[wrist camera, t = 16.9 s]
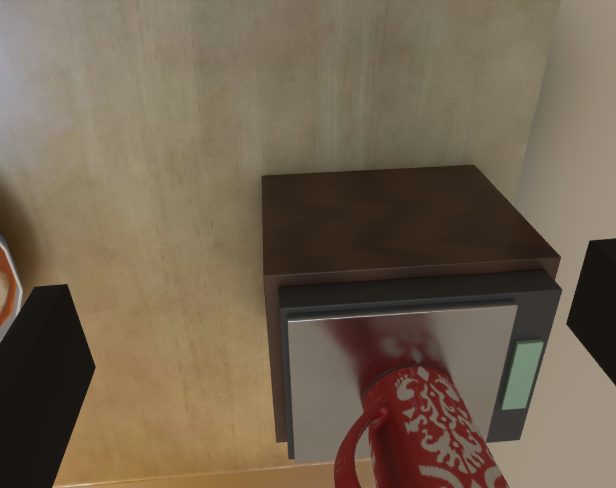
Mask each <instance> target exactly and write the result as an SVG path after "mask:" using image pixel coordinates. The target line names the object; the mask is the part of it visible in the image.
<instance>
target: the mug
mask: <svg viewBox="0 0 616 488" xmlns="http://www.w3.org/2000/svg"><path fill="white" fill-rule="evenodd" d="M365 430H366V431H367V435H368V441H369V447H370V453H371V459H372V464H373V471H374V477H375V483H376V488H509V486H508V484H507V482H506V480H505V479H504V477H503V475H502V473H501V471H500V469H499V467H498V466H497V464H496V462H495V460H494V458H493V456H492V454H491V452H490V451H489V449H488V447H487V445H486V443H485V441H484V439H483V437H482V435H481V434H480V432H479V430H478V428H477V426H476V424H475V422H474V421H473V419H472V417H471V415H470V413H469V411H468V409H467V407H466V405H465V403H464V401H463V399H462V397H461V395H460V393H459V391H458V389H457V388H456V386H455V384H454V383H453V381H452V380H451V379H450V378H449V376H447V375H446V374H444V373H443V372H441V371H439V370H437V369H434V368H429V367H422V366H414V367H406V368H401V369H398V370H395V371H393V372H390V373H388V374H386V375H385V376H383V377H381V378H380V379H379V380H377V381H376V382H375V383H374V384H373V385H372V386H371V387H370V389H369V390H368V392H367V393H366V396H365V398H364V401H363V414H362V415H361V416H360V417H359V418H358V420H357V421H356V422H355V423H354V425H353V426H352V427H351V428H350V430H349V432H348V433H347V434H346V436H345V438H344V439H343V441H342V443H341V445H340V447H339V450H338V453H337V456H336V460H335V466H334V467H335V468H334V481H335V488H361V487H360V484H359V482H358V479H357V475H356V471H355V462H354V457H355V450H356V446H357V443H358V441H359V439H360V437H361V436H362V434H363V432H364V431H365Z"/></svg>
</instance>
